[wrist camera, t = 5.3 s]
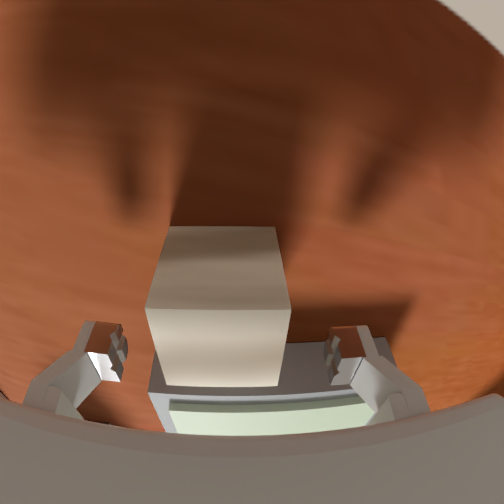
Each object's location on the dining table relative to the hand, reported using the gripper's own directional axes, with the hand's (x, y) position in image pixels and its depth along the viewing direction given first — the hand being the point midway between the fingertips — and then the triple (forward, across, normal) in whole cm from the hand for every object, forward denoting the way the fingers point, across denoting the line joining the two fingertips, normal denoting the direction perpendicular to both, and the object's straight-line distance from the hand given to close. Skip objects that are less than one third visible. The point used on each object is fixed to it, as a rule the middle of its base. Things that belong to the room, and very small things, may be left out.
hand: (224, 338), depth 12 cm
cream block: (+4, 0, 0) cm, 4 cm away
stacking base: (+4, -3, +12) cm, 13 cm away
